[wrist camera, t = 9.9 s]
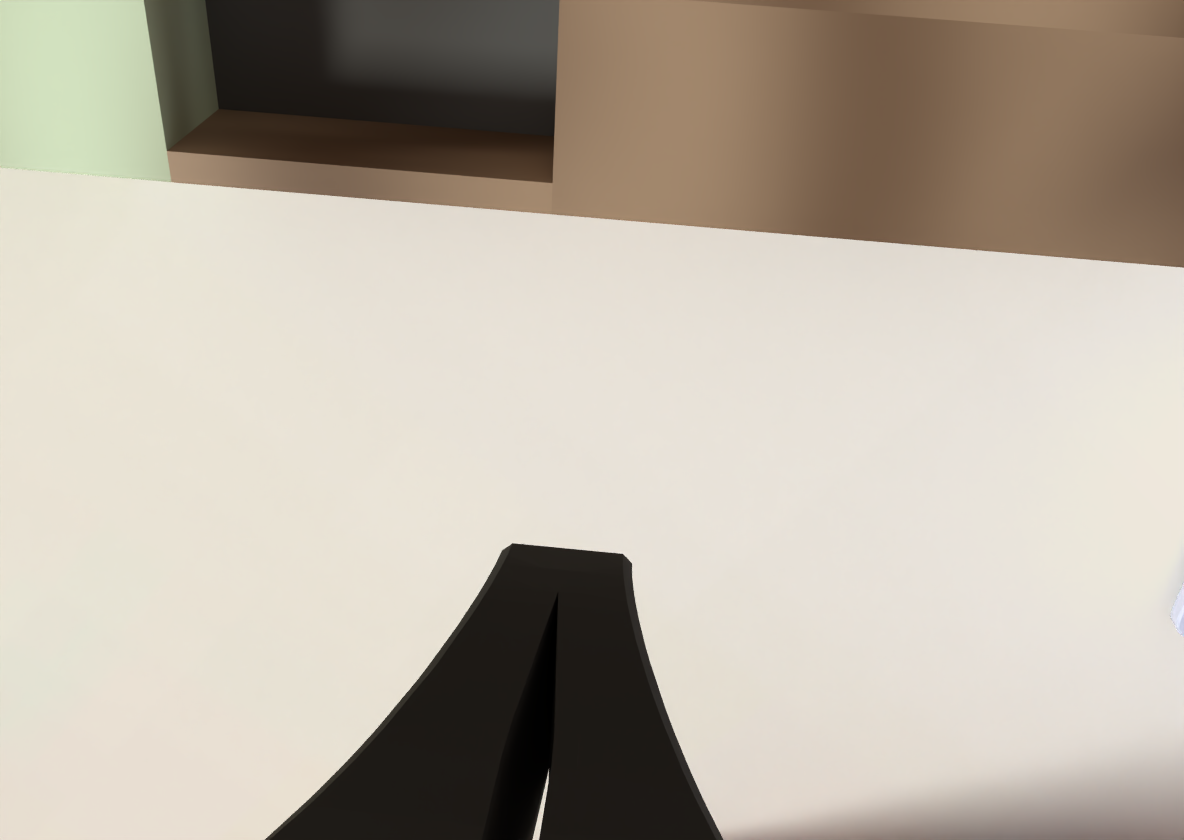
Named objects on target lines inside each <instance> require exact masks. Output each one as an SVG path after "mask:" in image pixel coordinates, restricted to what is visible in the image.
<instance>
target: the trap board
mask: <svg viewBox="0 0 1184 840" xmlns="http://www.w3.org/2000/svg"><path fill="white" fill-rule="evenodd" d="M0 168H10V169H22V170H34V171H46V172H58V173H69V174H81V175H93V176H105V177H117V178H129V179H141V180H152V181H164V182H176V183H188V184H200V185H212V186H224V187H235V188H247V189H259V190H271V191H283V192H295V193H307V194H318V195H330V196H342V197H354V198H366V199H378V200H390V201H401V202H413V203H425V204H437V205H449V206H461V207H473V208H484V209H496V210H508V211H520V212H532V213H544V214H556V215H567V216H579V217H591V218H603V219H615V220H627V221H639V222H650V223H662V224H674V225H686V226H698V227H710V228H722V229H733V230H745V231H757V232H769V233H781V234H793V235H805V236H816V237H828V238H840V239H852V240H864V241H876V242H888V243H899V244H911V245H923V246H935V247H947V248H959V249H971V250H983V251H994V252H1006V253H1018V254H1030V255H1042V256H1054V257H1066V258H1077V259H1089V260H1101V261H1113V262H1125V263H1137V264H1149V265H1160V266H1172V267H1184V0H0Z"/></svg>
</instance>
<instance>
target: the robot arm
mask: <svg viewBox="0 0 1184 840" xmlns="http://www.w3.org/2000/svg"><path fill="white" fill-rule="evenodd" d="M1170 617H1171V619H1172V621H1173V623H1174V625H1175V627H1176V629H1177V631H1178V633H1179V634H1181V635H1182V636H1183V637H1184V583H1183V585H1182V587H1181V589H1180V592H1179V594H1178V596H1177V599H1176V601H1175V603H1174V605H1173V608H1172V610H1171V616H1170ZM548 770H549V784H548V790H547V796H546V802H545V808H544V814H543V820H542V826H541V832H540V838H539V840H723V838H722V836H721V834H720V832H719V830H718V828H717V826H716V824H715V822H714V820H713V818H712V816H711V815H710V813H709V811H708V809H707V806H706V804H705V802H704V800H703V798H702V796H701V794H700V792H699V789H698V787H697V785H696V783H695V781H694V778H693V776H692V774H691V772H690V769H689V767H688V765H687V762H686V760H685V757H684V755H683V753H682V750H681V748H680V745H679V743H678V740H677V738H676V736H675V733H674V731H673V728H672V725H671V723H670V720H669V717H668V715H667V712H666V709H665V706H664V703H663V700H662V697H661V694H660V691H659V688H658V685H657V682H656V679H655V676H654V673H653V670H652V667H651V664H650V661H649V657H648V654H647V650H646V647H645V643H644V639H643V635H642V631H641V627H640V623H639V618H638V614H637V608H636V603H635V597H634V591H633V581H632V563H631V562H630V561H629V560H628V559H627V558H626V557H625V556H624V555H623V554H617V553H607V552H596V551H586V550H576V549H565V548H555V547H545V546H534V545H524V544H511V545H510V546H508V547H507V548H505V549H504V550H502V552H501V554H500V556H499V558H498V560H497V562H496V564H495V566H494V568H493V570H492V572H491V574H490V575H489V577H488V579H487V581H486V582H485V584H484V586H483V587H482V589H481V591H480V592H479V594H478V595H477V597H476V599H475V600H474V602H473V603H472V605H471V606H470V608H469V609H468V611H467V612H466V614H465V615H464V617H463V618H462V620H461V622H460V623H459V624H458V626H457V627H456V629H455V630H454V631H453V633H452V634H451V636H450V637H449V638H448V640H447V641H446V642H445V644H444V645H443V647H442V648H441V649H440V651H439V652H438V653H437V655H436V656H435V658H434V659H433V660H432V662H431V663H430V664H429V666H428V667H427V668H426V670H425V671H424V672H423V674H422V675H421V676H420V678H419V679H418V680H417V681H416V683H415V684H414V685H413V686H412V687H411V689H410V690H409V691H408V692H407V693H406V695H405V696H404V697H403V698H402V699H401V700H400V702H399V703H398V704H397V705H396V706H395V708H394V709H393V710H392V711H391V712H390V714H389V715H388V716H387V717H386V718H385V720H384V721H383V722H382V723H381V724H380V726H379V727H378V728H377V729H376V730H375V731H374V733H373V734H372V735H371V736H370V737H369V738H368V739H367V740H366V741H365V742H364V744H363V745H362V746H361V747H360V748H359V749H358V750H357V751H356V752H355V753H354V754H353V755H352V756H351V758H350V759H349V760H348V761H347V762H346V763H345V764H344V765H343V766H342V767H341V768H340V769H339V770H338V771H337V772H336V773H335V774H334V775H333V776H332V777H331V778H330V779H329V780H328V781H327V782H326V783H325V784H324V785H323V786H322V787H321V788H320V789H319V790H318V791H317V792H316V793H315V794H314V795H313V796H312V797H311V798H310V799H309V800H308V801H307V802H306V803H304V804H303V805H302V806H301V807H300V808H299V809H298V810H297V811H296V812H295V813H294V814H292V815H291V816H290V817H289V818H288V819H287V820H286V821H285V822H284V823H283V824H282V825H280V826H279V827H278V828H277V829H276V830H275V831H274V832H273V833H272V834H271V835H270V836H268V837H267V838H266V839H265V840H532V839H533V835H534V830H535V826H536V822H537V817H538V813H539V809H540V805H541V800H542V796H543V792H544V788H545V783H546V779H547V775H548Z"/></svg>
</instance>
